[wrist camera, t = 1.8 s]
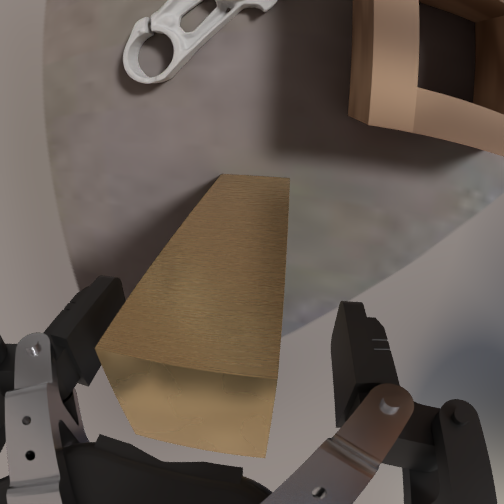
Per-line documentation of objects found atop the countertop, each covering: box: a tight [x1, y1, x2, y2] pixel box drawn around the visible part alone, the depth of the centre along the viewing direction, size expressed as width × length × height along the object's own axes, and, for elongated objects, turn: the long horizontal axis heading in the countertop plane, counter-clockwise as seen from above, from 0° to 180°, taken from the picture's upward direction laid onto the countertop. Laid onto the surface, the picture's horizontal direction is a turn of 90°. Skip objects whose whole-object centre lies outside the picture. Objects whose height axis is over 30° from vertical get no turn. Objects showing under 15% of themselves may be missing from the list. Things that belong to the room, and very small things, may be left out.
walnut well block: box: [348, 0, 504, 156], centre depth 11 cm, size 10×10×5 cm
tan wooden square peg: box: [95, 174, 290, 458], centre depth 13 cm, size 4×4×14 cm
